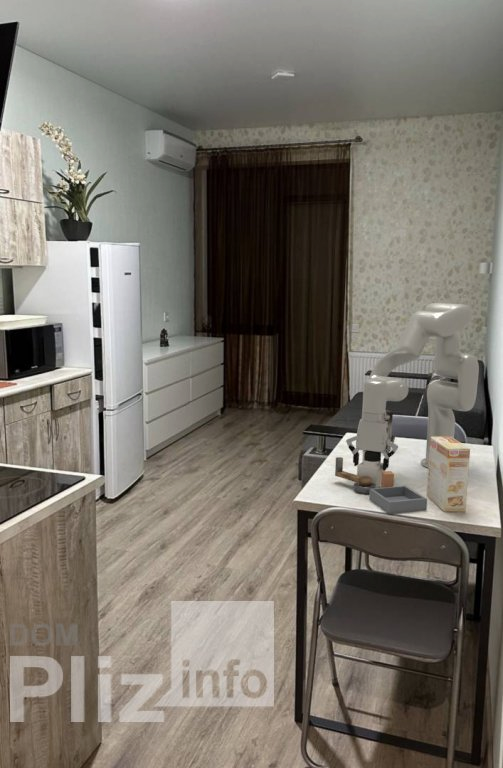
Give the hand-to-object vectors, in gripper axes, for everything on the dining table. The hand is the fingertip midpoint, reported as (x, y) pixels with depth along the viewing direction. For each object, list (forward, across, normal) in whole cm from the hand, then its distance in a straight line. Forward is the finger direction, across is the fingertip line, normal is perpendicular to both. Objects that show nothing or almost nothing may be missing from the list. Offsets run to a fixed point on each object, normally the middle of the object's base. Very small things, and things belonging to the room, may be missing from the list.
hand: (370, 467), depth 215 cm
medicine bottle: (+6, 0, 0) cm, 6 cm away
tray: (+6, -12, +15) cm, 20 cm away
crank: (+4, +5, +5) cm, 8 cm away
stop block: (+6, -7, +6) cm, 11 cm away
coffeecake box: (+6, -26, +7) cm, 27 cm away
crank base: (+6, 0, +7) cm, 9 cm away
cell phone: (+6, +10, -64) cm, 65 cm away
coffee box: (+6, +8, -44) cm, 46 cm away
